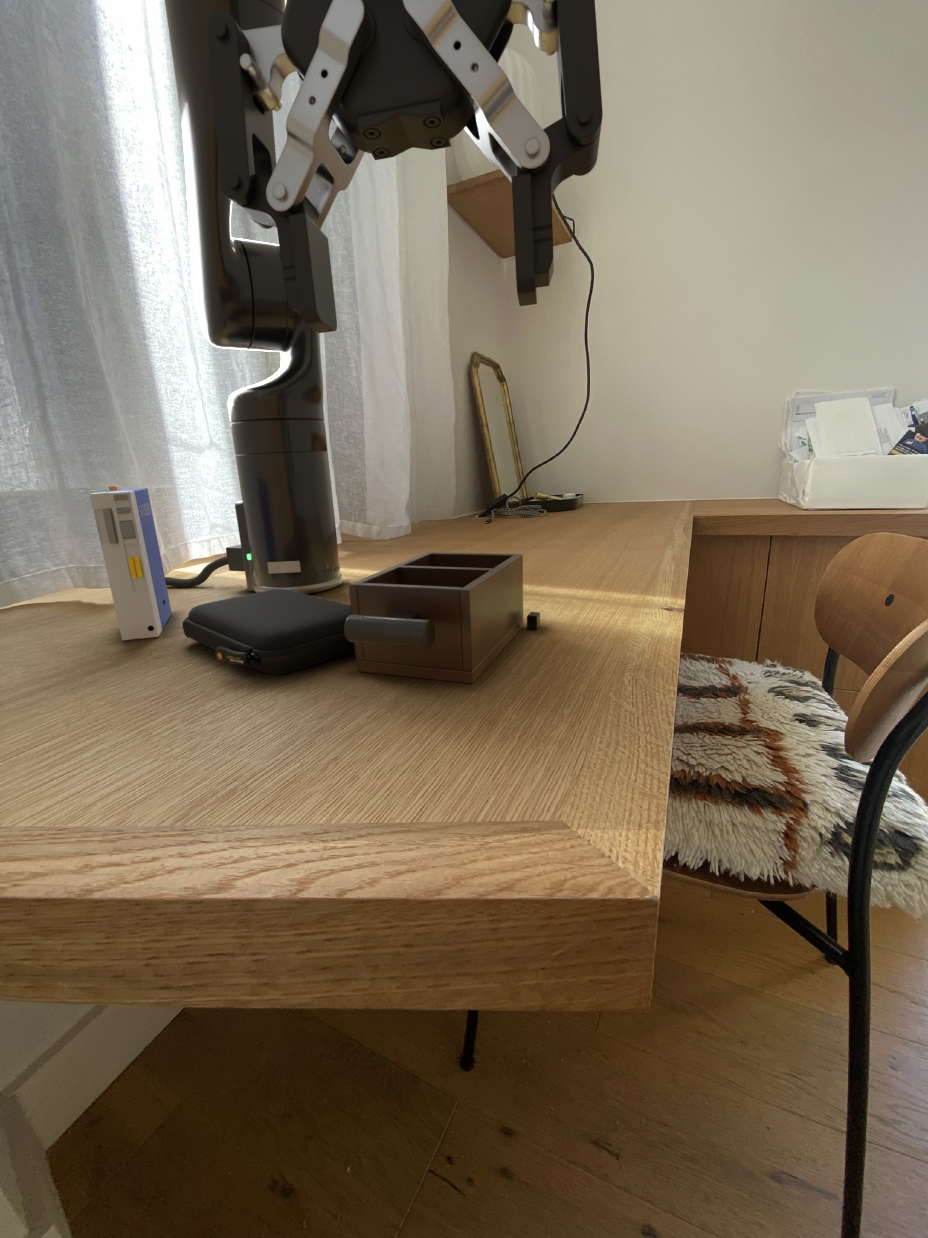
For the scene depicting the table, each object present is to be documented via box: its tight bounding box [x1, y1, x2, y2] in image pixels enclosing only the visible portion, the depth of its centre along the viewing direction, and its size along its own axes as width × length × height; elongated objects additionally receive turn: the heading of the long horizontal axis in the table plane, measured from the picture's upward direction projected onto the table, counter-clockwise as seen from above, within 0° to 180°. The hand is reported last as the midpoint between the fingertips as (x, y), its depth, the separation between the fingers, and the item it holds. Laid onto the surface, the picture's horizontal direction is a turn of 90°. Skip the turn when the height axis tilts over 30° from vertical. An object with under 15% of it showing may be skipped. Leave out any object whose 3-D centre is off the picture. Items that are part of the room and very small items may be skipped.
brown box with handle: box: [344, 551, 524, 685], centre depth 38 cm, size 15×8×6 cm, turn 160°
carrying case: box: [181, 589, 355, 675], centre depth 41 cm, size 11×3×15 cm
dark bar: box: [526, 611, 541, 631], centre depth 45 cm, size 10×1×1 cm, turn 70°
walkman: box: [89, 485, 173, 641], centre depth 47 cm, size 8×3×12 cm, turn 20°
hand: (420, 313), depth 22 cm, fingers open, 8 cm apart
